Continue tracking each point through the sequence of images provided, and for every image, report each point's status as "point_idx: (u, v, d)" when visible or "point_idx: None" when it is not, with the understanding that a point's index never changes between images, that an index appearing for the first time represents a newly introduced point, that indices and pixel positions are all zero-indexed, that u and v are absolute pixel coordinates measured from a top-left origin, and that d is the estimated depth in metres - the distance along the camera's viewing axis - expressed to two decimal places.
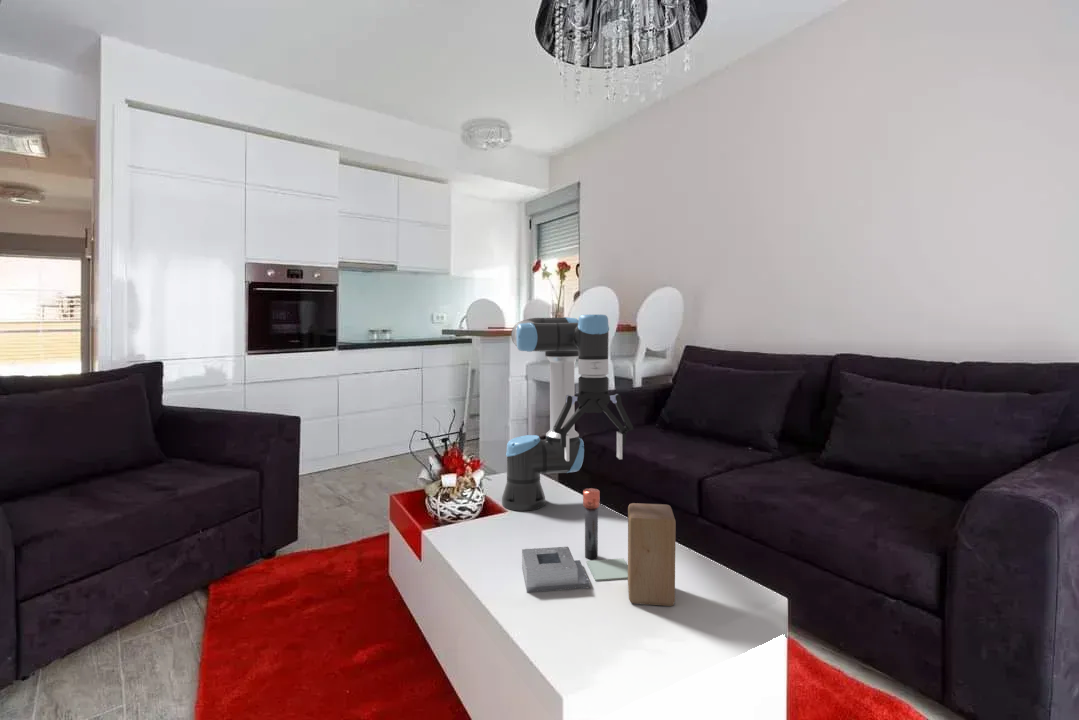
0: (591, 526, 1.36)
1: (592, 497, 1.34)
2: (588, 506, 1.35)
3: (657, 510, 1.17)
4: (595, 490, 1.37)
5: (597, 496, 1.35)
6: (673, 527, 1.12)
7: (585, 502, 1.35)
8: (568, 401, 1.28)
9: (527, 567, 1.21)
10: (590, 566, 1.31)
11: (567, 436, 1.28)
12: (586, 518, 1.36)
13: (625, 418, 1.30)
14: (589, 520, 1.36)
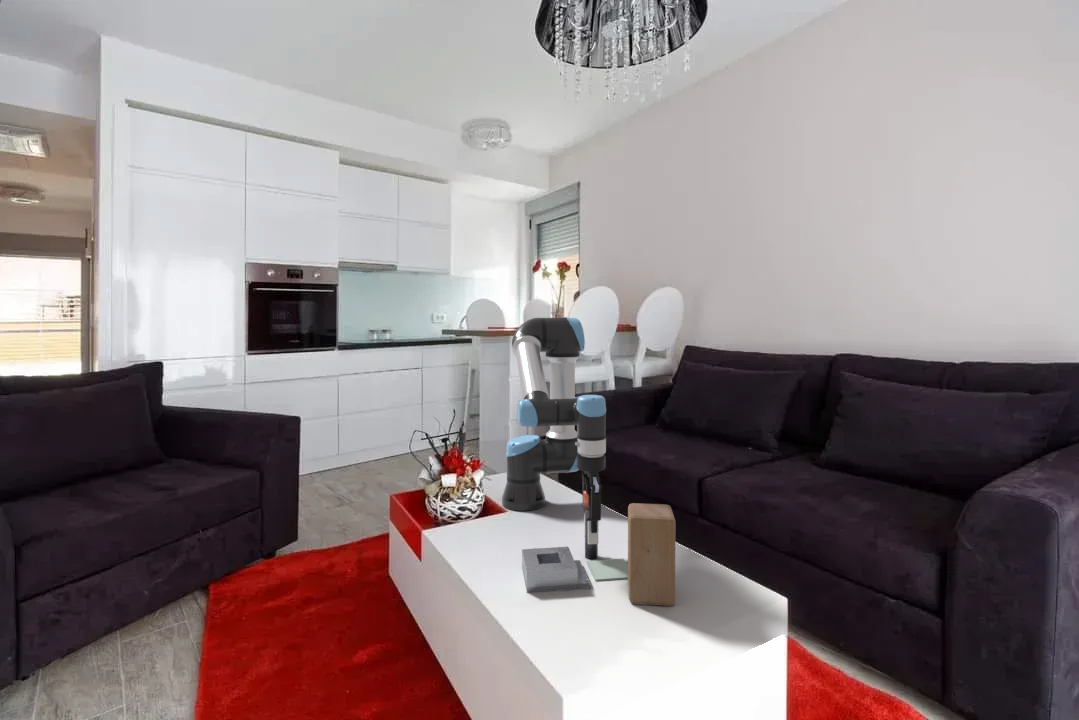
0: None
1: None
2: (588, 506, 1.35)
3: (657, 510, 1.17)
4: None
5: None
6: (673, 527, 1.12)
7: (585, 502, 1.35)
8: (582, 477, 1.42)
9: (527, 567, 1.21)
10: (590, 566, 1.31)
11: (584, 514, 1.39)
12: None
13: (591, 507, 1.32)
14: None
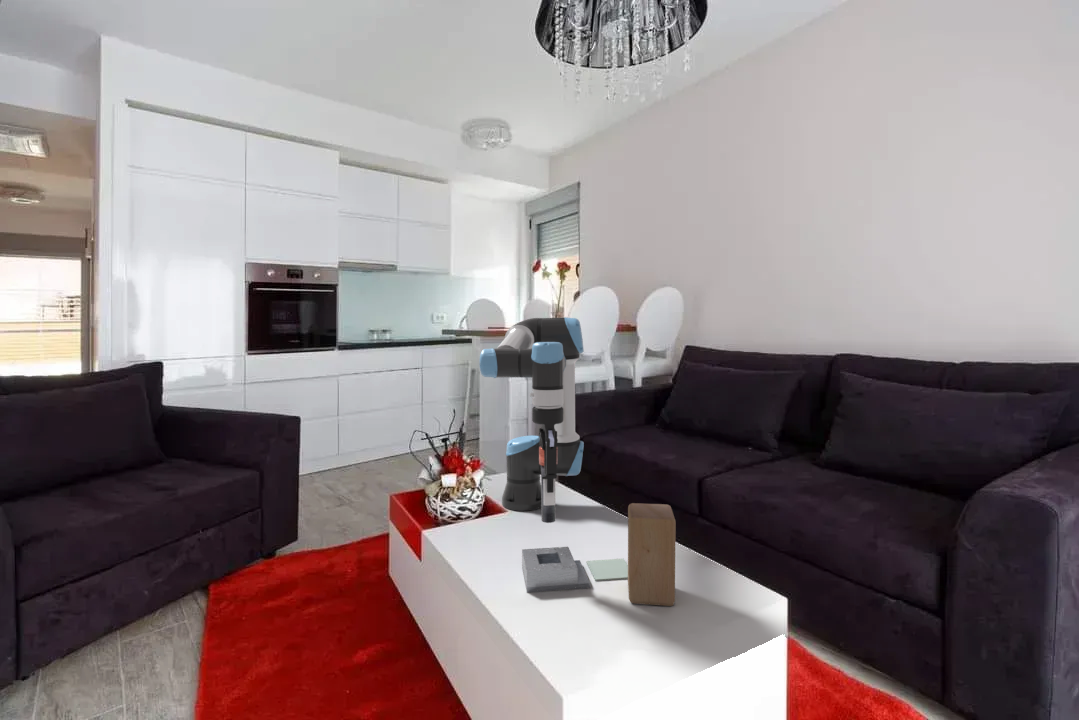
0: None
1: None
2: None
3: (657, 510, 1.17)
4: None
5: None
6: (673, 527, 1.12)
7: (541, 459, 1.23)
8: None
9: (527, 567, 1.21)
10: (590, 566, 1.31)
11: None
12: None
13: (546, 463, 1.19)
14: None
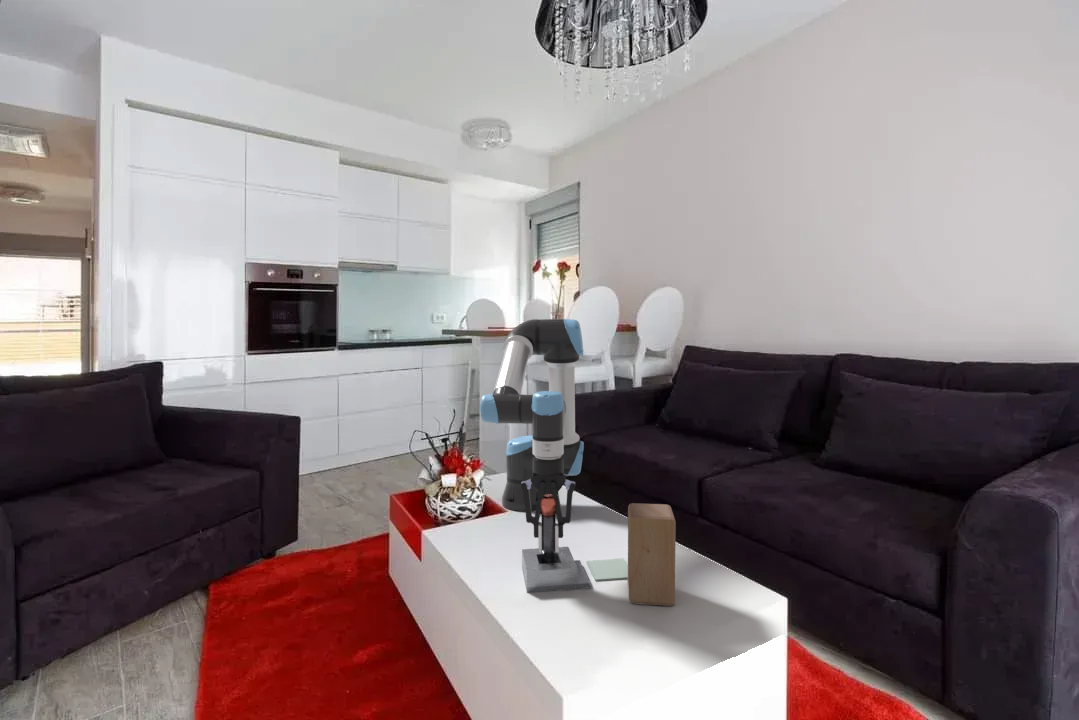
0: None
1: None
2: (555, 512, 1.24)
3: (657, 510, 1.17)
4: (546, 494, 1.26)
5: None
6: (673, 527, 1.12)
7: (552, 509, 1.23)
8: (523, 489, 1.24)
9: (527, 567, 1.21)
10: (590, 566, 1.31)
11: (539, 527, 1.24)
12: (551, 527, 1.24)
13: (567, 508, 1.24)
14: (554, 527, 1.25)
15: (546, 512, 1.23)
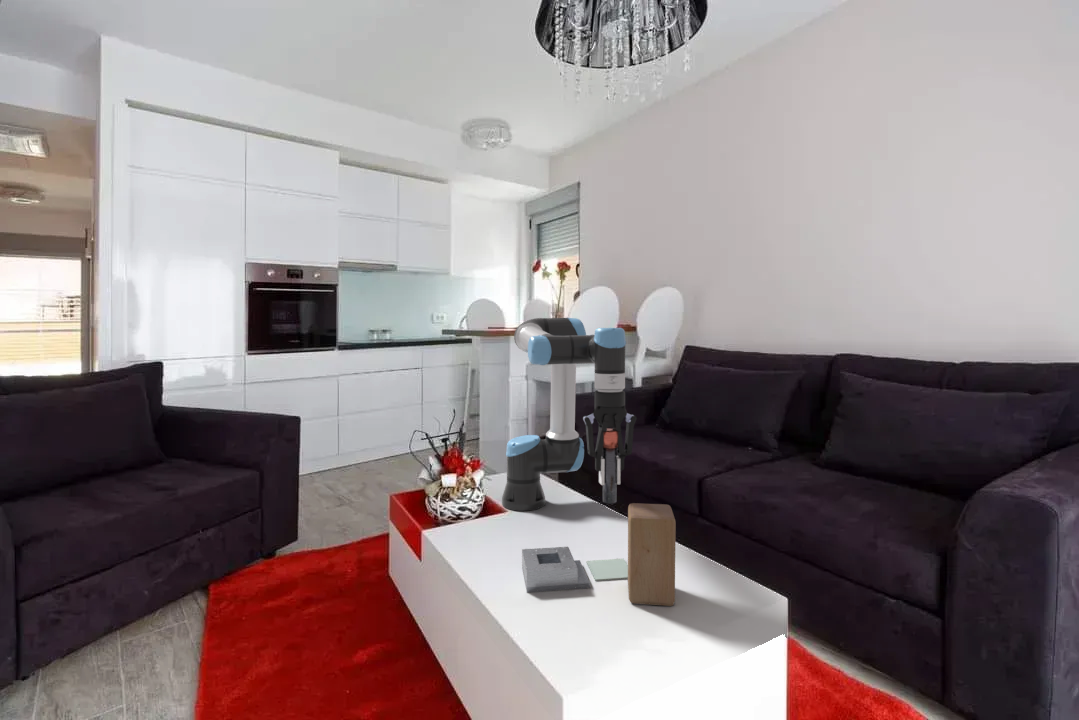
0: None
1: None
2: None
3: (657, 510, 1.17)
4: None
5: None
6: (673, 527, 1.12)
7: (616, 442, 1.26)
8: (587, 423, 1.26)
9: (527, 567, 1.21)
10: (590, 566, 1.31)
11: (602, 460, 1.27)
12: (614, 459, 1.27)
13: (629, 440, 1.27)
14: (616, 460, 1.28)
15: (610, 445, 1.26)
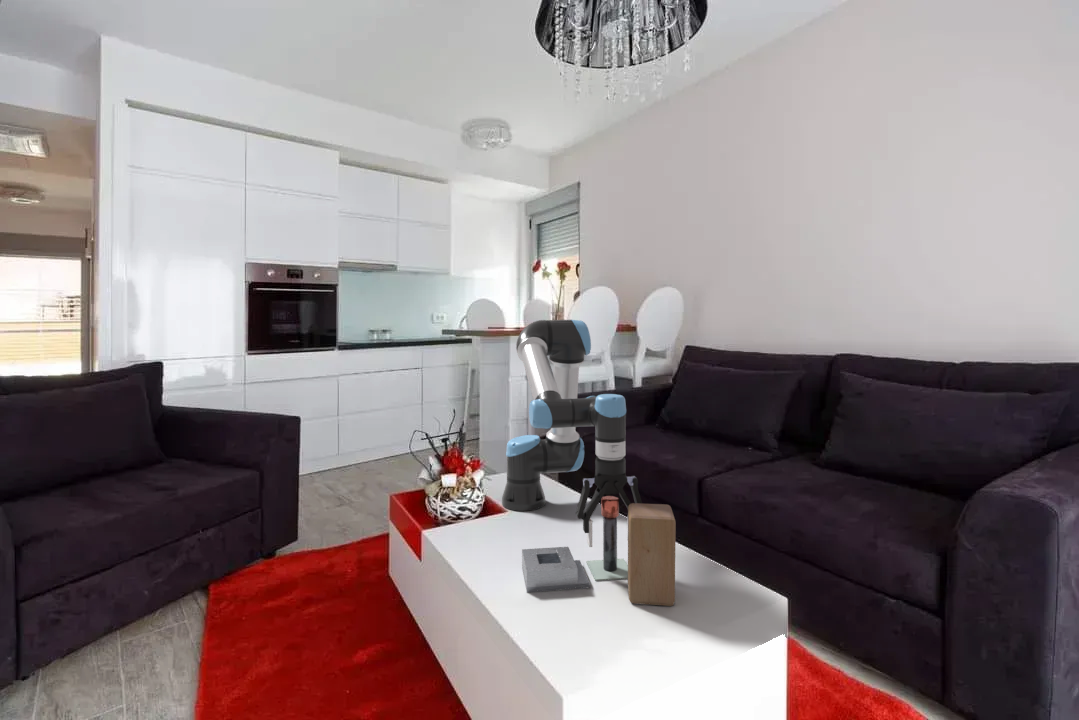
0: (616, 534, 1.29)
1: None
2: (618, 513, 1.28)
3: (657, 510, 1.17)
4: (606, 497, 1.30)
5: None
6: (673, 527, 1.12)
7: (616, 511, 1.27)
8: (586, 486, 1.27)
9: (527, 567, 1.21)
10: (590, 566, 1.31)
11: (590, 522, 1.27)
12: (614, 528, 1.28)
13: (638, 502, 1.29)
14: (616, 528, 1.29)
15: (610, 514, 1.27)
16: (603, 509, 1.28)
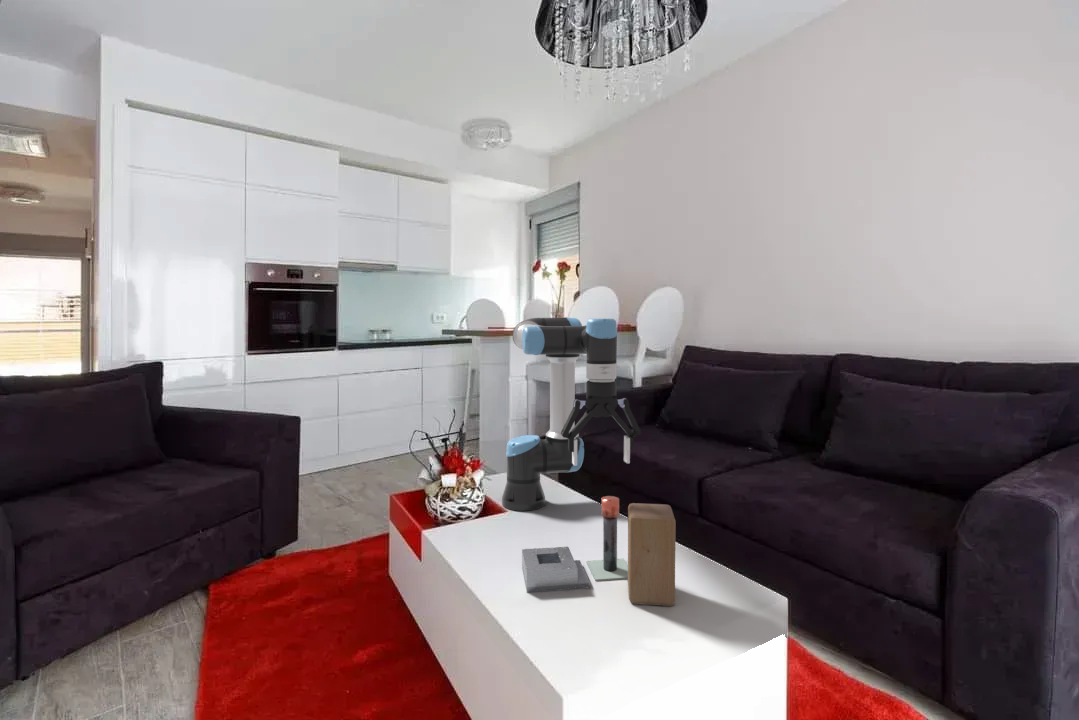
0: None
1: None
2: (618, 513, 1.28)
3: (657, 510, 1.17)
4: (606, 497, 1.30)
5: None
6: (673, 527, 1.12)
7: (616, 511, 1.28)
8: (576, 405, 1.27)
9: (527, 567, 1.21)
10: (590, 566, 1.31)
11: (575, 441, 1.28)
12: (614, 528, 1.28)
13: (633, 422, 1.30)
14: (616, 528, 1.29)
15: (611, 514, 1.27)
16: (603, 509, 1.28)
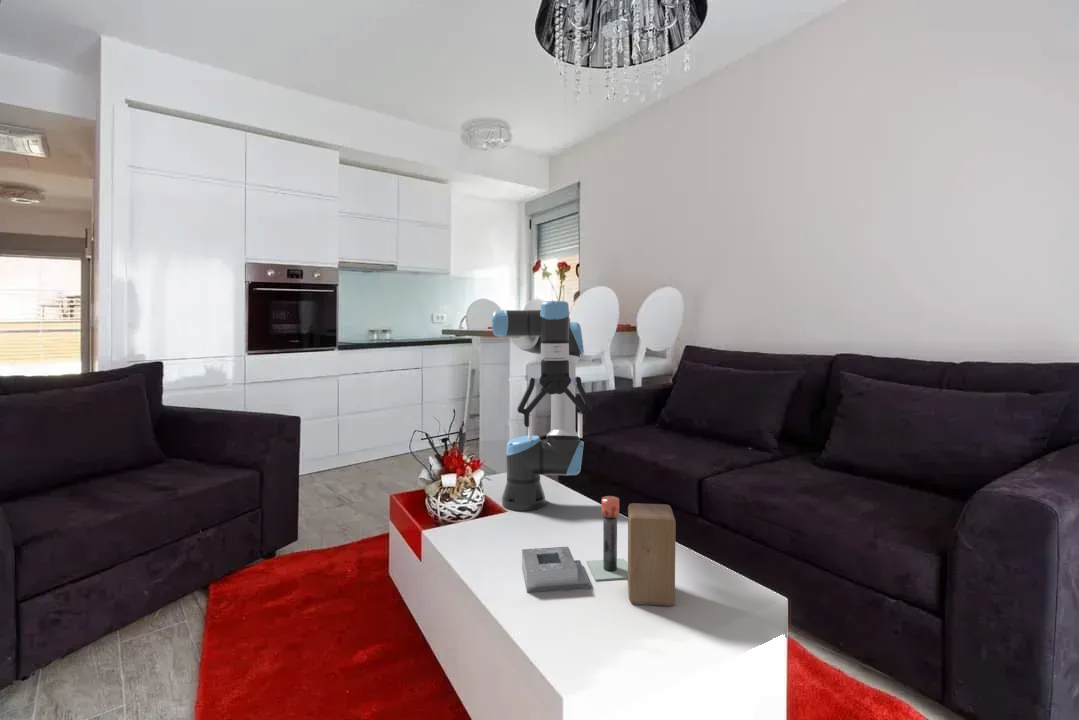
0: None
1: None
2: (618, 513, 1.28)
3: (657, 510, 1.17)
4: (606, 497, 1.30)
5: None
6: (673, 527, 1.12)
7: (616, 511, 1.27)
8: (531, 383, 1.36)
9: (527, 567, 1.21)
10: (590, 566, 1.31)
11: (530, 416, 1.36)
12: (614, 528, 1.28)
13: (585, 399, 1.38)
14: (616, 528, 1.29)
15: (611, 514, 1.27)
16: (603, 509, 1.28)
